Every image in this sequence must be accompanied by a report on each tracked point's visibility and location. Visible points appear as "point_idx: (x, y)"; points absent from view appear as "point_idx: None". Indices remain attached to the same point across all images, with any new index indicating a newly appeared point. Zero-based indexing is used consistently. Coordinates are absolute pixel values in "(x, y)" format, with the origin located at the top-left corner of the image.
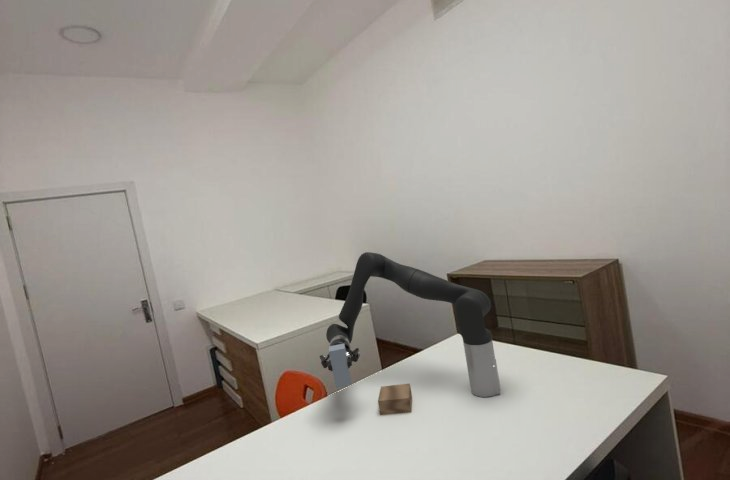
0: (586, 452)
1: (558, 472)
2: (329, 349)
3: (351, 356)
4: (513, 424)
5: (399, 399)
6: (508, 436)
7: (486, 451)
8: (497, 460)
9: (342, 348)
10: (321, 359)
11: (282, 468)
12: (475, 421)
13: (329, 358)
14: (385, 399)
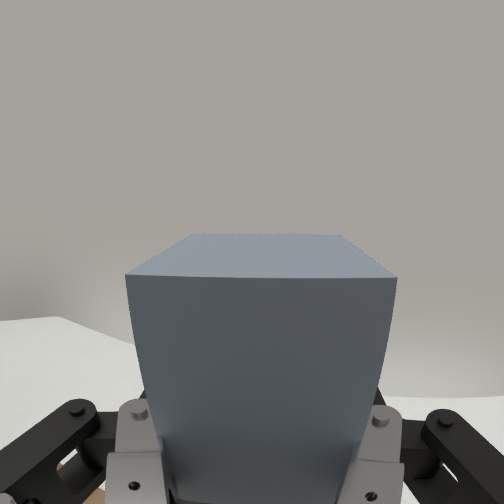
0: (23, 319)
1: (60, 317)
2: (349, 246)
3: (114, 428)
4: (4, 360)
5: (62, 465)
6: (30, 352)
7: (71, 350)
8: (77, 339)
9: (208, 236)
10: (488, 443)
11: (419, 406)
12: (17, 387)
13: (393, 450)
14: (96, 492)
